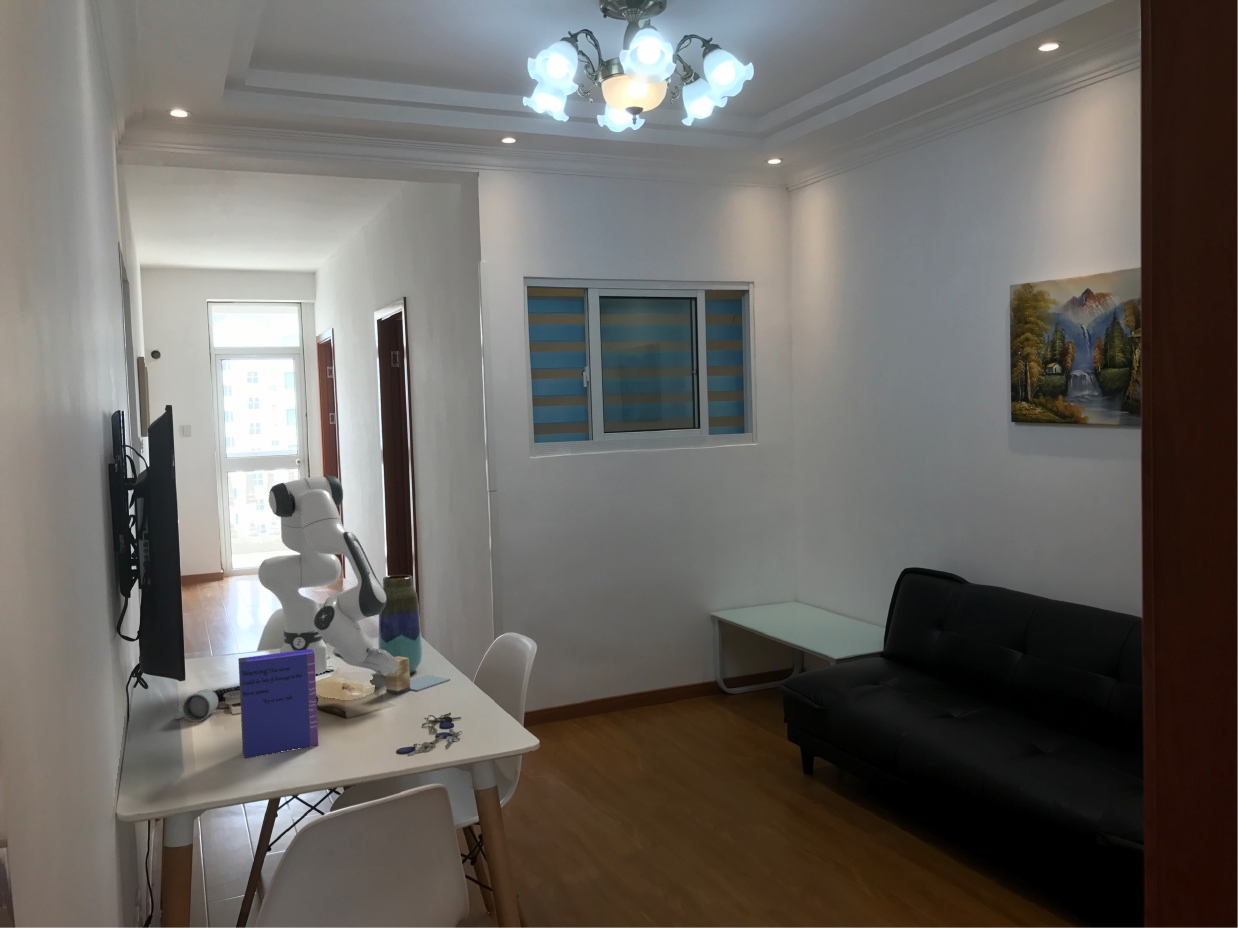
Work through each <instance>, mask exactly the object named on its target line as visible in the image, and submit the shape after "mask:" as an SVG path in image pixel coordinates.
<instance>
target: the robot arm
mask: <svg viewBox="0 0 1238 928" xmlns="http://www.w3.org/2000/svg"><path fill="white" fill-rule="evenodd" d="M343 499H344V489H343V485H342V482H341V481H340V479H338V478H337V477H336V476H333V475H324V476H311V477H303V478H301V479H295V480H291V481H288V482H280V483H277V484H275V485H273V486H272V487H271V488H270V490H269V495H268V504H269V507H270V509H271V511H272V513H273V514H274V515H276V516H277V517H279V518H280V528H281V529H280V530H281V531H280V534H281V542H282V543H283V545H284V546H285V547H287V548H288V549H289V550H290V551H293V552H295V553H299V554H288V555H277V556H273V557H269V558H266V559H264V560H263V561H262V562H261V563H260V565H259V568H258V573H257V574H258V575H257V576H258V580H259V583H260V584H261V585H262V586H263V588H265V589H267V590H269V591H270V592H271V593H272V594H273V595H275V597H276V598H277V599H278V601H279V603H280V605H281V608H282V611H283V619H284V631H283V642H284V644H283V645H282V646H281V647H280V649H279V653H284V652H292V651H299V650H307V649H312V650H313V651H314V655H315V676H317V675H316V674H318V675H321V674H320V673H322V674H324V673H323V672H325V671H329V670H333V669H334V670H335V659H334V657H330V656H329V655H328V647H327V644H328V645H329V646H331V647H333V648H334V649H333V650H332V655H333V656H335V657H337V658H339V659H341V660H342V661H343V662H345V663H346V664H347V665H349V666H353V667H357V668H358V667H359V668H362V669H363V668H364V669H368V670H371V671H373V672H375V673H376V674H378V675H380V676H384V677H386V675H387V674H388V673H395V671H396V670H397V668H398V666H399V661H398V660H397V659H395V658H394V657H393V656H392V655H391V654H389V653H388V652H386V651H384V650H381V649H378V648H375V647H373V646H374V642H373V640H372V638H370V637H369V636H368V635H367V634H366V633H365V632H364V631H363V630H362V629H361V628H359V627H357V626H356V624H357V622H359V621H361V620H363V619H366V618H371V617H375V616H379V614H380V613H381V612H382V611H383V609H384V607H385V605H386V601H387V596H386V593H385V591H384V589H383V585H382V584H381V583H380V580H379V579H378V578H377V576H376V573H375V572H374V569H373V568H372V565H371V563H370V561H369V559H368V557H367V555H366V553H365V550H364V549H363V546H362V544H361V542H360V541H359V539H358V537H356V535H355V534H354V533H353V532H350V531H347V529H346V528H345V527H344V525H343V523H342V519H341V517H340V512H339V511H338V510H339V509H338V507H340V505H341V504H342V502H343ZM337 555H342V556H344V557H345V558H346V559H347V561H348V562H349V564H350V566H351V569H352V571H353V573H354V575H355V577H356V579H357V583H356V585H355V586H352V587H351V588H348V589H345V590H341V591H340V592H338V593H335V594H333V595H331V596H328V597H327V599H326V600H325V602H324V604H323V606H322V607H321V608H320V606H319V604H318V602H316V601H315V600H314V599H311V598H309V597H307V596H303V595H302V594H301V593H300V591H299V590H300V589H303V588H315V587H324V586H327V585H332V584H335V583H337V582H338V580H339V579H340V577H341V574H342V564H341V561H340V559H339V557H337ZM326 643H327V644H326ZM325 673H326V672H325Z"/></svg>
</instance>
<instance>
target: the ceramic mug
mask: <svg viewBox="0 0 1238 928" xmlns="http://www.w3.org/2000/svg"><path fill="white" fill-rule="evenodd" d="M218 705H219V697H218V695H217V693H216V692H214V691H213V690H211V689H201V690H199V691H196V692H195V693H193V694H191V695H188V696H187V697H186V699H184V701H183V703H182V707H181V711H179V712H177V713H176V714H175V717H176V719H177V720H180V719H182V718H185V719H187V720H188V721H190V722H194V723H196V722H197V723H198V722H202V721H204V720H205V719H207V718H208V717H209V716H210V715H211V714H213V713H214V712H215V711H216V710H217V708H218Z"/></svg>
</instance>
